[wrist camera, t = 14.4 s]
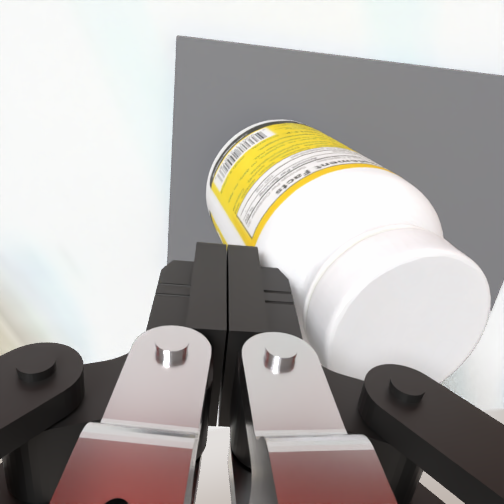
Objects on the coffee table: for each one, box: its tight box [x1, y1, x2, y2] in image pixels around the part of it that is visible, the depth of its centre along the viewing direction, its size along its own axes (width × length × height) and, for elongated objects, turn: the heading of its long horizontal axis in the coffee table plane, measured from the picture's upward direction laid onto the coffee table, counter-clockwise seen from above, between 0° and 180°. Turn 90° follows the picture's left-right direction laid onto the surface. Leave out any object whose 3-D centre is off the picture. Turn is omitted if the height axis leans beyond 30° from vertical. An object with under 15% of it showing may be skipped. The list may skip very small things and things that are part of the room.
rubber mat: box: [167, 35, 504, 310], centre depth 20 cm, size 15×10×1 cm, turn 83°
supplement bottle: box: [206, 119, 491, 384], centre depth 14 cm, size 5×5×10 cm
